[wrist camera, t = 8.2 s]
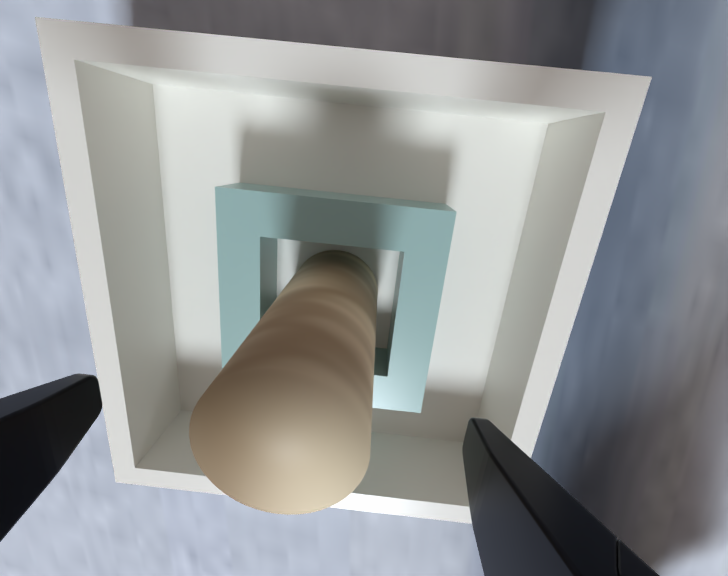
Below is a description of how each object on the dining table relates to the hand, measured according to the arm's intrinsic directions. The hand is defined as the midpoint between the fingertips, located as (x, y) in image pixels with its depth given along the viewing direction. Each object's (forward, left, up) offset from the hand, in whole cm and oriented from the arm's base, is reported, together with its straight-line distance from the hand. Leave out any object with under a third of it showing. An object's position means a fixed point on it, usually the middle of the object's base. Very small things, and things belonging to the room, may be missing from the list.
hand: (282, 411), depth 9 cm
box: (0, 0, -10) cm, 10 cm away
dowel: (0, 0, -9) cm, 9 cm away
